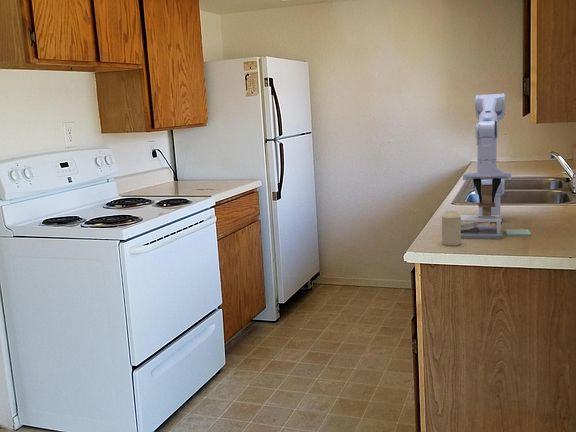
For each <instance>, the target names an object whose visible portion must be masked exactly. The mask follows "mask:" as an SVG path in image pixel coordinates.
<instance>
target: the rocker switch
mask: <svg viewBox="0 0 576 432" xmlns="http://www.w3.org/2000/svg"><path fill="white" fill-rule="evenodd" d="M482 226H491V222H469V223H465V224H461V230H467V229H472V228H477V227H482Z"/></svg>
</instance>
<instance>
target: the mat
mask: <svg viewBox="0 0 576 432" xmlns="http://www.w3.org/2000/svg"><path fill="white" fill-rule="evenodd" d="M505 234H506V236H507V237H532V234H531V231H530V229H528V228H527V229H526V228H525V229H522V228H521V229H516V228H515V229H508V228H507V229H505Z"/></svg>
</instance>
